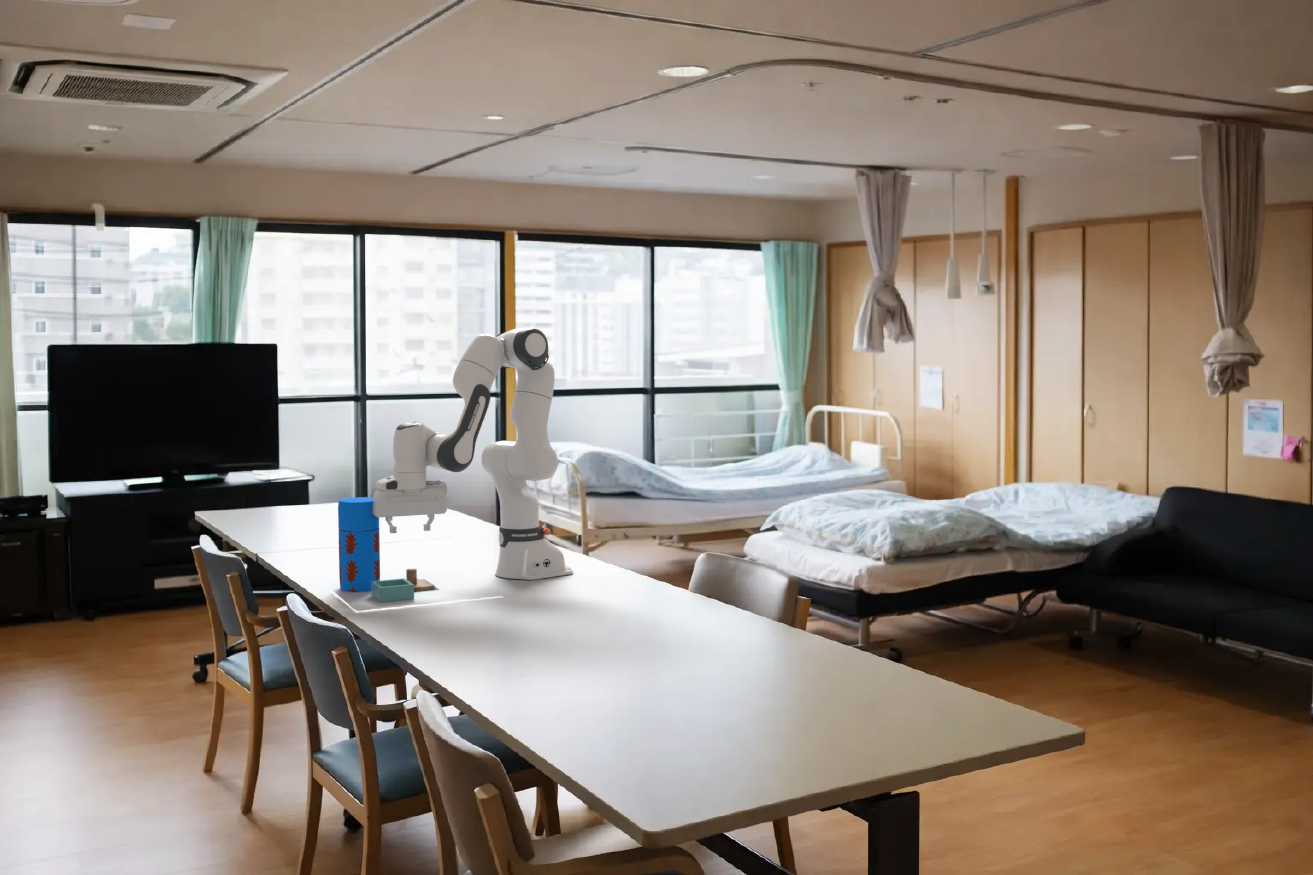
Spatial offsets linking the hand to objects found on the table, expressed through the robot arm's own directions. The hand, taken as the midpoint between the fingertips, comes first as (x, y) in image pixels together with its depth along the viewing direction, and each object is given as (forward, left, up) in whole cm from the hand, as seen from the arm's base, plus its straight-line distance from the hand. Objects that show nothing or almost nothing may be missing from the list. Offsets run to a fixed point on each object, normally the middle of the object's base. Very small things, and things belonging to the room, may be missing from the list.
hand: (410, 531), depth 328 cm
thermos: (+12, -6, -16) cm, 21 cm away
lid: (0, 0, -16) cm, 16 cm away
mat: (0, 0, -16) cm, 16 cm away
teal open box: (+8, +10, -16) cm, 20 cm away
